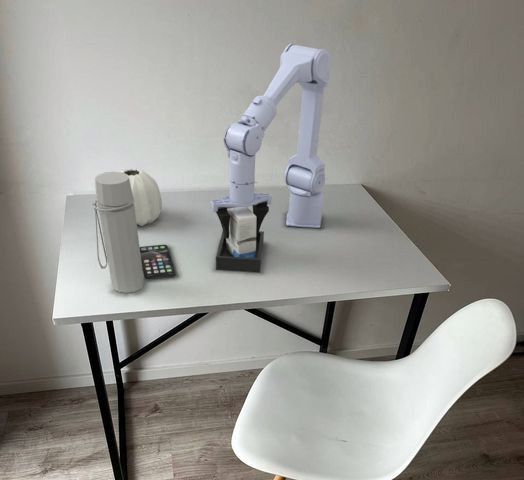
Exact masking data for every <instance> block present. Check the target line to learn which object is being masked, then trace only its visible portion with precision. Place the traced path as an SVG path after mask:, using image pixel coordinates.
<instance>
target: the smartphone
mask: <svg viewBox="0 0 524 480" xmlns="http://www.w3.org/2000/svg"><path fill="white" fill-rule="evenodd" d="M140 254H141V262H142V270H143V278H144V279H145V280H154V279H165V278H171V277H175V276H176V274H177V272H176V269H175V266H174V262H173V260H172V256H171V252H170V250H169V245H167V244H156V245H145V246H140Z"/></svg>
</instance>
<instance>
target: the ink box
mask: <svg viewBox="0 0 524 480" xmlns="http://www.w3.org/2000/svg"><path fill="white" fill-rule="evenodd" d="M227 210H228V213H229V214H230V216H231V217H230V222H229V238H228V239H226V249H227V250H228V251H229V252H230V253H231V255H232V256H233V257H246V258H256V216H255V215H254V214H253V210H251V209H250V208H249V207H237V208H229V209H227Z"/></svg>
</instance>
